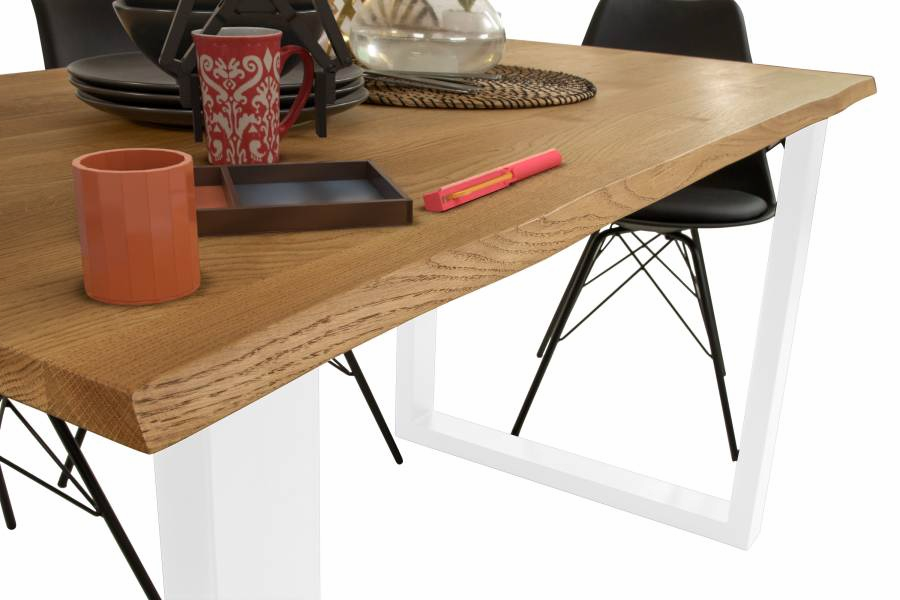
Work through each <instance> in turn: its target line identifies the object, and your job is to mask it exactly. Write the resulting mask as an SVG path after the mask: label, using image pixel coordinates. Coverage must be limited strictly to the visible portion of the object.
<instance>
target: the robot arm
mask: <svg viewBox="0 0 900 600" xmlns="http://www.w3.org/2000/svg"><path fill="white" fill-rule="evenodd" d="M195 1H196V0H179V1H178V4H177V7H176V10H175V13H174V15H173V18H172V21H171V24H170V27H169V30H168V33H167V36H166V38H165V41H164V44H163V46H162V49H161V53H160V55H159V58H158V65H159V68H160V69H161V70H162V71H167V72H170V73H173V74H175V75H176V76H177V78H178V89H179V102H180V105H181V108H182V109H191V112H192V126H193V127H192V128H193V138H194V142H195V143H203V142H204V138H203V137H204V136H203V121H202V119H203V118H202V103H201V95H200V87H199V77H198V73H193V71H194V69H195V67H197V63H198V61H197V53H196V45H195V44H194V41H193V42H192V43H191V45H190V46H189V47H188V49H187V50H186V52H185V53H184V55H183V57H182V58H181V59H177V58H176V55H177V53H178V50H179V48H180V44H181V42H182V38H183V35H184V33H185V31H186V27H187V25H188V22H189V20H190V17H191V14H192V11H193V9H194V5H195ZM311 3H312V5H313V7H314V10H315V12H316V14H317V16H318V18H319V21H320V24H321V26H322V28H323V30H324V33H325V35H326V38H327V39H328V41H329V43H330V47H331V48H332V51H333V53H334V55H335V56H332V57H330V56H329V54H328V53H327V52H326V51H325V49H324V48H323V47H322V45H321V44H320V43H319V41H318V40H317V39H316V37H314V35H313V33H311V31H310V30H309V28H308V27H307V26H306V24H305V23H304V22H303V21H302V19H301V18H300V16H299V15H298V13H297V12H296V11H295V9H294V8H293V7H292V6H291V5H290V3H289V2H288V0H220V1H219V3H218V4H217V6H216V8H215V9H214V10H213V12H212V14H211V15H210V17H209V18H208V20H207V22H206V23H205V24H204V26H203V28H201V29H202V30H201V32H200V33H199V34H202V35H214V36H216V35H217V34H218V33H219V31H220V30H221V28H224V25H225V24H226V23H227V22H228V20H229V19H230V17H232V15H233V14H234V15H236V16H238V17H240V18H248V17H249V18H250V17H253V16H256V15H257V16H260V17H265V18H267V17H268V18H269V17H270V18H272V17H273V16H275V15H277V14H279V15H280V17H281V18H282V19H283V21H284V22H285V23H286V24H287V25H288V27H289V28H290V29H291V30H292V32H293V33H294V34H295V36H296V37H297V38H298V40H299V41H300V42H301V43H302V45H303V46H304V47H305V49H306V50H307V51H308V52H309V53H310V55H311V57H312V59H313V60H315V62H316V63H317V64H318V66H319V67H320V68H321V70H319V71H318V70H317V71H314V82H313V86H314V87H313V88H314V90H313V91H314V125H315V134H316V135H317V136H318V137H319V138H320V139H321V138H322V139H325V138H328V132H327V131H328V130H327V129H328V128H327V126H328V125H327V105H335V102H336V100H337V90H336V89H337V87H336V75H337V73H338V72H339V71H341V70H342V69H346V68H349V67H351V66H352V65H353V63H354V60H353V57H352V54H351V52H350V50H349V47H348V44H347V42H346V40H345V38H344V36H343V34H342V31H341V29H340V26H339V24H338V22H337V20H336V17H335V15H334V12H333V11H332V8H331V6H330V4H329V1H328V0H311Z"/></svg>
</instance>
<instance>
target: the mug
mask: <svg viewBox="0 0 900 600" xmlns="http://www.w3.org/2000/svg"><path fill="white" fill-rule="evenodd" d="M202 29H203V28H201V29H194V30H192V31H191V32H190V36H191V38H192V41H193V42H194V44H195V45H196V53H197V61H198V63H197V65H196V70H197V74H198V77H199V89H200V104H201V113H202V119H203V126H204V135H205V142H206V151H207V159H208V162H209V163H210V164H211V165H234V164H260V163H278V162H279V161H280V143H281V141H282V140H283V139H284V137H285V136H286V135H287V134H288V132H289V131H290V129H291V128H292V127H293V125H294V124H295V122H296V121H297V119H298V117H299V116H300V115H301V113H302V111H303V110H304V108H305V106H306V104H307V102H308V100H309V97H310V96H311V92H312V89H313V86H314V72H315V62H314V58H313V56H312V55H311V54H310V52H309V51H308V50H307V49H306V48H304V47H302V46H299V45H297V44H296V45H295V44H289V45H284V46H282V47H281V41H282V37H283V31H282V30H279V29H275V28H267V27H257V26H256V27H253V26H233V27H232V26H227V27H222V28H221V30H220V31H219V33H218V34H217V35H216V36H214V35H202V34H199V33H200V32H201V30H202ZM293 54H297V55H298V57H299V58H300V60H301V62H302V66H303V67H302V68H303V76H302V83H301V85H300V88H299V91H298V94H297V96H296V97H295V99H294V101H293V103H292V104H291V107H290V108H289V110H288V111H287V113H286V114H285V115H284V117H283V119H282V120H281V121H280V115H281V114H280V112H281V111H280V104H281V97H280V96H281V74H282V72H283V70H284V66H285V63H286V62H287V60H288V58H289V57H290V56H292V55H293Z"/></svg>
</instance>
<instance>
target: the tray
mask: <svg viewBox="0 0 900 600" xmlns="http://www.w3.org/2000/svg"><path fill="white" fill-rule="evenodd" d="M193 171H194V186H195V202H196V217H197V233H198V238H202V237H203V238H204V237H220V236H238V235H239V236H240V235H254V234H255V235H256V234H258V235H259V234H275V233H291V232H311V231H328V230H330V231H331V230H345V229H363V228H364V229H365V228H366V229H367V228H378V227H379V228H381V227H382V228H383V227H399V226H401V227H402V226H413V225H414V224H413V223H414V221H413V220H414V199H413V198H412V197H410V196H409V195H408V194H407V192H405V191H404V189H403V188H401V186H400V185H398V184H397V183H396V182H395V181H394V180H393V178H391V177H390V176H389V174H387V173H386V171H384V170H383V169H382V168H381V166H379V165H378V164H377V163H376V162H375V161H374V160H373V159H372V158H371V159H370V158H369V159H345V160H342V159H341V160H318V161H316V160H315V161H293V162H289V161H288V162H276V163H260V164H234V165H214V164H211V165H193Z"/></svg>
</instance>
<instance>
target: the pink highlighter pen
mask: <svg viewBox="0 0 900 600" xmlns="http://www.w3.org/2000/svg"><path fill="white" fill-rule="evenodd" d="M562 161H563V156H562V154H561V152H559V151H558V150H557V149H556V147H553V148H550V149H546V150H544V151H541V152H538V153H534V154H532V155H529V156H527V157H524V158H520V159H519V160H515V161H512V162H510V163H506V164H504V165H501V166H499V167H498V166H497V167H495V168H492V169H490V170H487V171H484V172H481V173H478V174H474V175H472V176H470V177H466V178H463V179H461V180H458V181H455V182H453V183H449V184H447V185H444V186H440V187H439V189H437V190H434V191H431V192H429V193H426V194H424V195H422V200H423V203H424V206H425V210H426V211H431V212H436V213H439V212H440V213H441V212H443V211H446V210H448V209H452V208H454V207H457V206H460V205H462V204H464V203H467V202H469V201H472V200H475V199H478V198H480V197H483V196H485V195H489V194H490V193H493V192H497V191H498V190H501V189H503V188H506V187H509V186H510V185H511V184H513V183H517V182H519V181H521V180H525V179H526V178H529V177H532V176H534V175H537V174H539V173H542V172H544V171H547V170H550V169H552V168H553V169H554V168H555V167H558V166H560V165H561V163H562Z"/></svg>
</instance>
